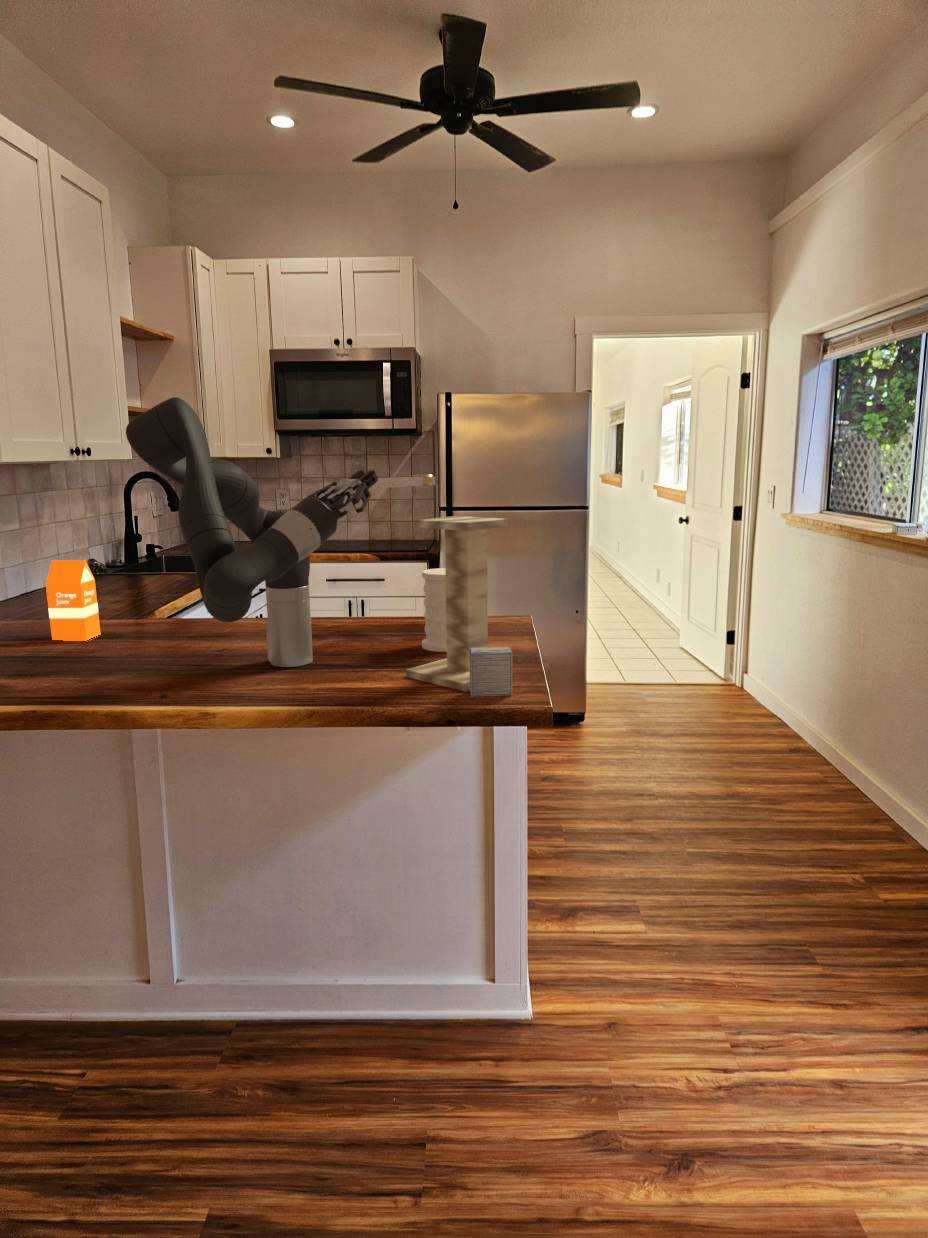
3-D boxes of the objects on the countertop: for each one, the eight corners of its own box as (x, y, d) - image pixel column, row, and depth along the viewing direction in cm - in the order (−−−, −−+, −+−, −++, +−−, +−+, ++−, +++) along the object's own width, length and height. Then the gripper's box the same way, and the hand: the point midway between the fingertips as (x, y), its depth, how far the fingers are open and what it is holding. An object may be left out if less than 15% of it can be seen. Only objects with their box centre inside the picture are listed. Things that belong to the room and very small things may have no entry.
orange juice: (86, 641, 200) (78, 562, 196) (51, 641, 200) (42, 562, 196) (101, 634, 207) (93, 557, 203) (67, 635, 208) (58, 558, 204)
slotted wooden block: (338, 488, 137) (337, 476, 137) (424, 484, 153) (423, 474, 152) (351, 489, 135) (351, 477, 135) (437, 485, 150) (437, 474, 150)
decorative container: (438, 638, 199) (437, 566, 195) (479, 643, 193) (478, 569, 189) (412, 648, 189) (410, 572, 185) (454, 654, 183) (453, 576, 179)
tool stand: (406, 676, 165) (401, 520, 158) (455, 662, 176) (453, 515, 169) (464, 691, 154) (462, 524, 148) (512, 674, 165) (512, 518, 159)
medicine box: (510, 689, 155) (510, 646, 153) (512, 696, 151) (512, 651, 149) (469, 690, 155) (468, 647, 153) (470, 697, 150) (470, 652, 148)
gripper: (318, 512, 124) (388, 455, 133) (266, 509, 133) (334, 455, 142) (339, 552, 128) (405, 493, 137) (286, 546, 137) (352, 491, 146)
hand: (368, 474), depth 140 cm, fingers closed on slotted wooden block, 2 cm apart
